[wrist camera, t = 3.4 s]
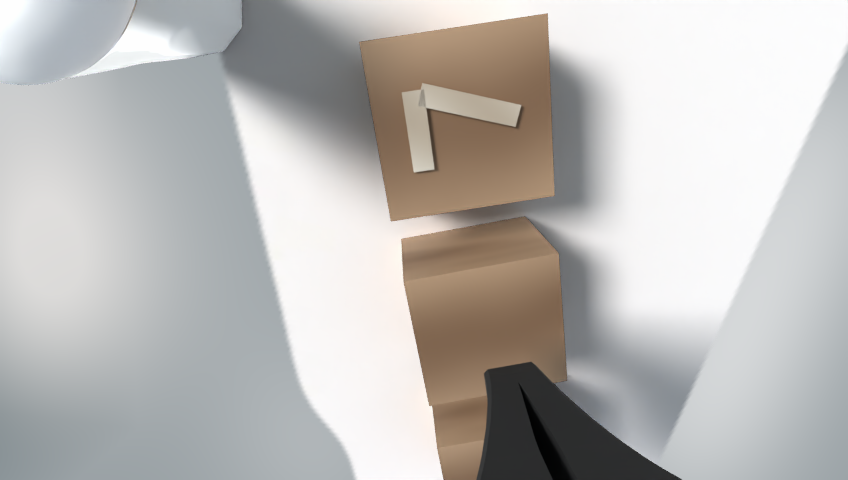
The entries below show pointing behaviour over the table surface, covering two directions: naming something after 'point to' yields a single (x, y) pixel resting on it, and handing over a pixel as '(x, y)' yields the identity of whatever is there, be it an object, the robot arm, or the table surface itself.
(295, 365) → the table surface
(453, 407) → the digit block one
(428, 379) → the blank block
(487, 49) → the digit block seven
